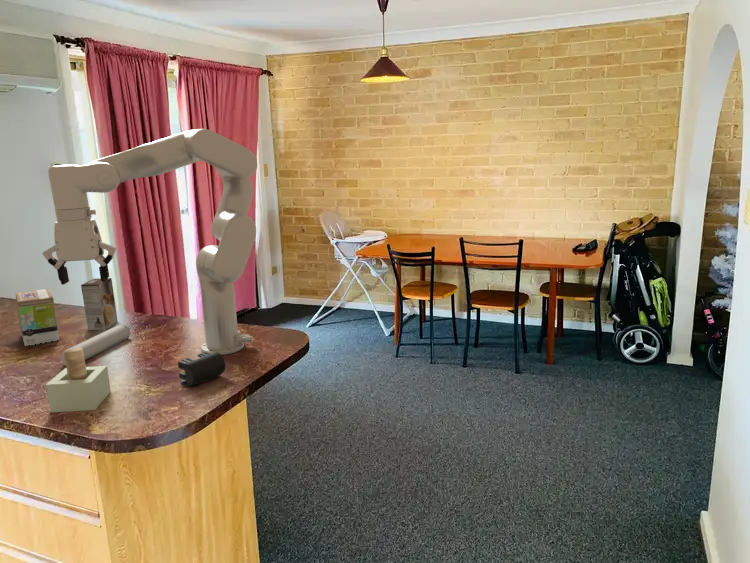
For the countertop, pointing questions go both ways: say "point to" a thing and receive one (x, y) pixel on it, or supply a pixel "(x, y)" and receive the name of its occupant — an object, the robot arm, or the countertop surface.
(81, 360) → the peg
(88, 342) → the tube
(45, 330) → the tea box
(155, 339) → the countertop surface
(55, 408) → the socket block
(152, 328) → the countertop surface
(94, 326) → the coffee box
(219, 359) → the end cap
